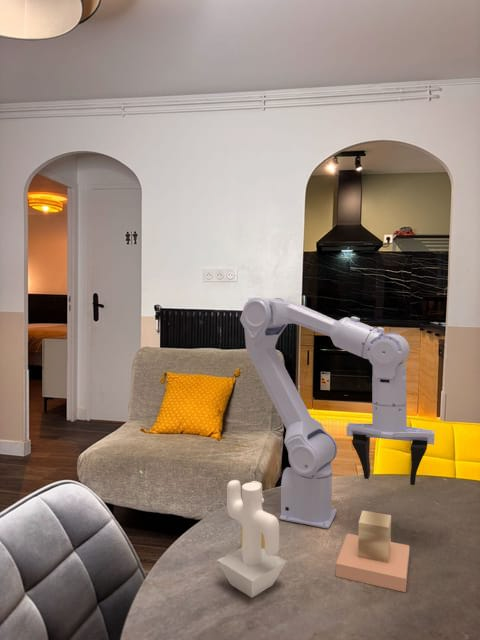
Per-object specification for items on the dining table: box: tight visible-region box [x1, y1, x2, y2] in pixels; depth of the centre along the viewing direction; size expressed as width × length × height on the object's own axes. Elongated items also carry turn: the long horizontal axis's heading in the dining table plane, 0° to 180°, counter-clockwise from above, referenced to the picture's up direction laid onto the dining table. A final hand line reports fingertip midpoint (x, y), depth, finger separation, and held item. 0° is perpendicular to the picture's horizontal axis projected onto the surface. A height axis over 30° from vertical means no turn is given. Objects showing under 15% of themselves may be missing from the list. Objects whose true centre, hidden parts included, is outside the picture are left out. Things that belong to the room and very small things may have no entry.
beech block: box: [357, 510, 392, 563], centre depth 75 cm, size 4×4×6 cm
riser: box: [335, 533, 410, 593], centre depth 75 cm, size 10×10×2 cm
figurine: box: [216, 479, 287, 599], centre depth 69 cm, size 7×9×15 cm
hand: (389, 480), depth 83 cm, fingers open, 7 cm apart
